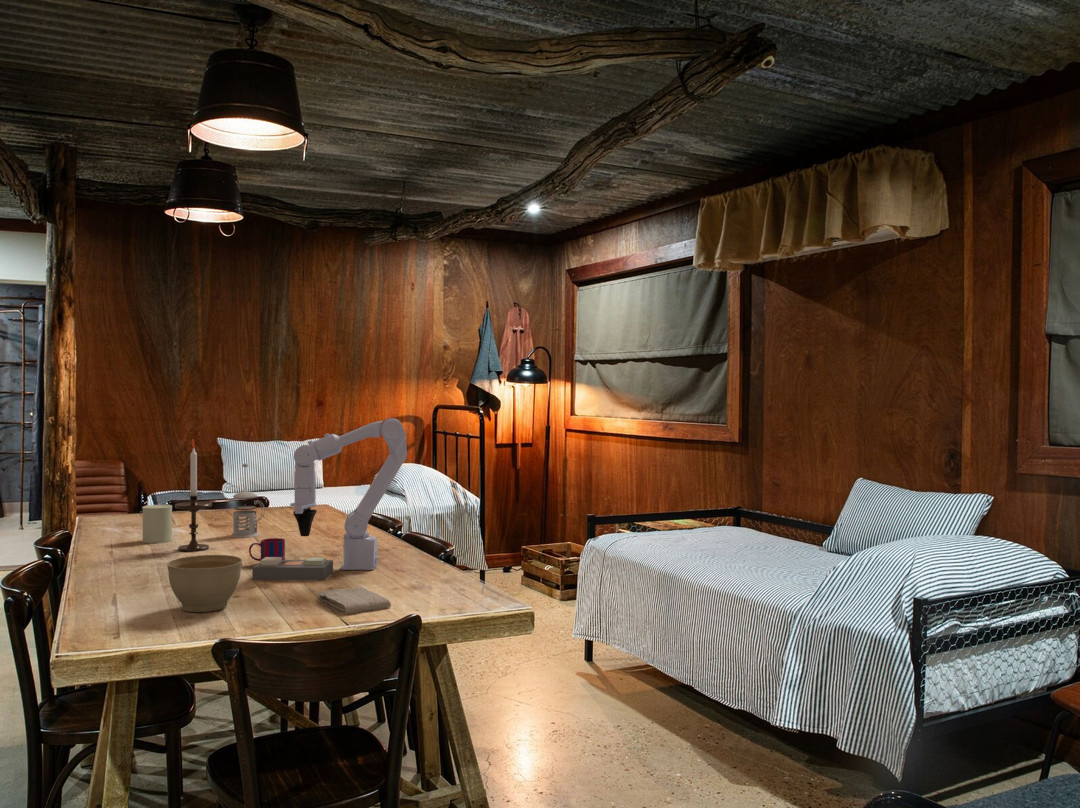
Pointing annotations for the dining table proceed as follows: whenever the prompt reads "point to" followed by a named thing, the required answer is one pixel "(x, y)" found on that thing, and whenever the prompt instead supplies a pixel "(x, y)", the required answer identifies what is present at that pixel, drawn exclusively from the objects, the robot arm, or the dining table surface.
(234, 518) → the french press
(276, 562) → the cream key
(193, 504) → the candlestick
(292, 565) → the terracotta key
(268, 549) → the mug
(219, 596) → the planter bowl
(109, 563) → the dining table surface
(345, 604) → the washcloth
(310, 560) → the sage key
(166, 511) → the can
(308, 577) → the key panel
